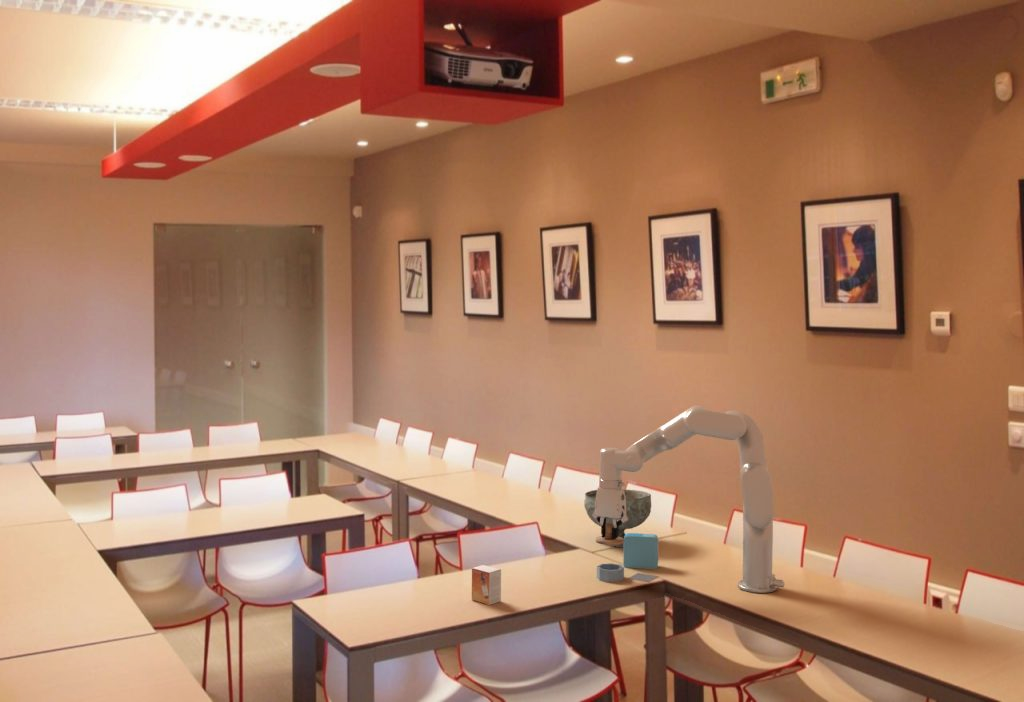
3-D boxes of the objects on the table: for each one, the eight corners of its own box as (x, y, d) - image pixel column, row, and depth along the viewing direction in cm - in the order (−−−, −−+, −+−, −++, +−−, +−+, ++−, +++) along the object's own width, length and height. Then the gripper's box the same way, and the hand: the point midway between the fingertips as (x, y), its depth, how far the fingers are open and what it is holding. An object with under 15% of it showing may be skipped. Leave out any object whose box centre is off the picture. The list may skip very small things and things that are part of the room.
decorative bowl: (595, 551, 370) (597, 499, 370) (574, 537, 395) (576, 487, 395) (660, 550, 377) (662, 498, 376) (636, 535, 402) (637, 487, 401)
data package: (658, 567, 351) (658, 534, 351) (657, 570, 347) (657, 537, 346) (624, 565, 354) (624, 532, 353) (623, 569, 349) (623, 535, 348)
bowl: (627, 578, 337) (627, 565, 336) (615, 585, 330) (615, 571, 329) (605, 574, 342) (605, 562, 341) (593, 580, 334) (593, 567, 334)
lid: (628, 540, 336) (628, 523, 336) (615, 546, 328) (615, 528, 328) (604, 536, 341) (604, 519, 341) (590, 542, 334) (590, 525, 333)
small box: (471, 600, 314) (471, 567, 313) (483, 596, 318) (483, 564, 317) (489, 605, 308) (489, 572, 308) (501, 601, 313) (501, 568, 312)
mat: (658, 578, 337) (659, 576, 337) (648, 583, 331) (648, 582, 331) (638, 574, 342) (638, 572, 342) (627, 580, 335) (627, 578, 335)
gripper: (637, 485, 332) (636, 538, 333) (594, 480, 341) (594, 532, 342) (626, 488, 326) (626, 543, 327) (583, 483, 335) (583, 536, 336)
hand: (609, 537), depth 335 cm, fingers closed on lid, 3 cm apart
